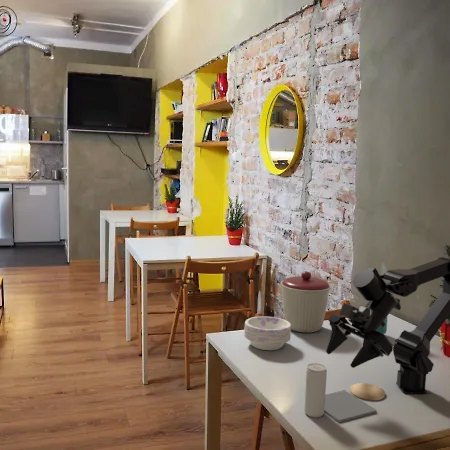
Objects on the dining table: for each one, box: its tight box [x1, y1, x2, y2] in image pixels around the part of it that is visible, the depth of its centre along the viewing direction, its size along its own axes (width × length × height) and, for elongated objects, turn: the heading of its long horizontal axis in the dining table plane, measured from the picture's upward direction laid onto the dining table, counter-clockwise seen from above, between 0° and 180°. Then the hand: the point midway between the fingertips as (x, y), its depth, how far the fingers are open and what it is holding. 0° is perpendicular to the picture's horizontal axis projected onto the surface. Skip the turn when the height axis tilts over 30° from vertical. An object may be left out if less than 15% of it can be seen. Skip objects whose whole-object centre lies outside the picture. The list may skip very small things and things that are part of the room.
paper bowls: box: [243, 315, 292, 351], centre depth 173 cm, size 15×15×8 cm
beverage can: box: [303, 362, 328, 419], centre depth 128 cm, size 5×5×12 cm
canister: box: [280, 270, 332, 334], centre depth 190 cm, size 18×18×21 cm
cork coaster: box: [349, 382, 386, 402], centre depth 141 cm, size 9×9×1 cm
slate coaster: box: [324, 389, 378, 423], centre depth 133 cm, size 12×12×1 cm
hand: (339, 359), depth 131 cm, fingers open, 9 cm apart
